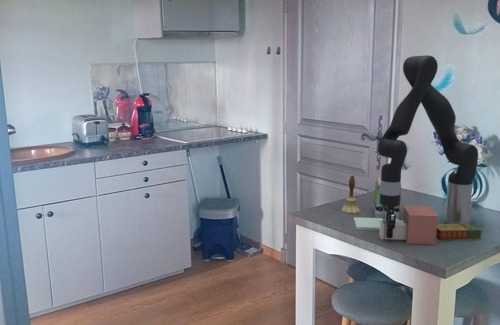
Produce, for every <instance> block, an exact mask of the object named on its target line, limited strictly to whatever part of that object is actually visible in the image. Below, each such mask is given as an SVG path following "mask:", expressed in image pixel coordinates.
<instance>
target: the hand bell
mask: <svg viewBox="0 0 500 325" xmlns="http://www.w3.org/2000/svg"><path fill="white" fill-rule="evenodd" d="M355 186H356V178H355V175H350V177H349V180H348V187H349V196H348V197H347V198H346V199H345V202H344V205H343V207H341V209H340V210H341V212H342V213H346V214H358V213H360V212H361V210H360V207H358V205H357V199H356V198H355V197H354V189H355Z"/></svg>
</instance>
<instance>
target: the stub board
mask: <svg viewBox="0 0 500 325" xmlns="http://www.w3.org/2000/svg"><path fill="white" fill-rule="evenodd" d="M380 220H383V218H375V217H353V223H354V226H355V230H356V231H372V232H373V231H378V232H379V227H380ZM396 220H399V219H396Z"/></svg>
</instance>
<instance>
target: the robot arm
mask: <svg viewBox="0 0 500 325" xmlns="http://www.w3.org/2000/svg"><path fill="white" fill-rule="evenodd" d="M438 66H439V64H438V60H437V59H436V58H435V57H434V56H432V55H428V54H427V55H413V56H409V57H407V58H406V59H404V62H403V65H402V72H403V75H404V77H405V79H406V80H407V82H408V84H409V85H410V87H411V90H410V91H409V92H408V93H407V95H406V96H405V97H404V98H403V100H401V101H400V103H399V104H398V105H397V108H396V109H395V111H394V113H393V117H392V119H391V122H390V125H389V126H388V127H387V129H386V131H385V132H384V133H383V135H382V136H381V138H380V140H379V142H378V144H377V145H378V146H377V152H378V154H379V156H381V157H383V158H388V159H391V161H390V163H385V164H382V167H381V174H380V175H381V176H380V177H381V183H380V200H379V203H380V204H381V205H383V220H385V222H386V223H387V226H386V228H387V232H386V237H387V238H392V237H393V229H395V221H396V215H395V214H396V210H394V207H395V206H399V205H400V206H401V195H402V182H401V180H402V169H403V167H404V163H405V160H406V157H407V154H408V147H407V146H408V145H407V143H405V141H403V140H399V137H401V136H406V135H408V134H409V132H410V129H411V128H412V125H413V122H414V118H415V115H416V114H417V111H418V108H419V106H420V105H421V106H422V107H423V108H424V111H425V114H426V115H427V117H428V119H429V122H430V123H431V125H432V127H433V129H434V131H435V133H436V135H437V137H438V139H439V142H440V143H441V146H442V149H443V152H444V155H445V158H446V159H447V161H448V162H449V163H451V164H452V165H456V166H458V167H457V171H456V172H451V173H450V174H448V176H447V177H448V179H447V180H448V181H447V191H446V201H445V214H444V222H445V224H461V223H470V224H472V223H471V222H472V221H471V220H472V211H473V202H472V194H473V193H472V192H473V186H474V185H473V183H474V179H475V177H476V173H477V166H478V162H479V160H478V159H479V151H478V148H477V147H476V145H474V144H469V143H465V142H462V141H460V139H459V138H458V136H457V135H456V134H457V133H456V132H455V125H456V113H455V111H454V109H453V107H452V104H451V103H450V101H449V99H448V98H447V97H446V96H445V95H443V93H442V92H440V90H438V89H436V88H435V87H434V86H433V84H432V83H433V81H434V79H435V77H436V74H437V72H438ZM390 224H392V225H390Z"/></svg>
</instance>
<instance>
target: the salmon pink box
mask: <svg viewBox="0 0 500 325" xmlns="http://www.w3.org/2000/svg"><path fill="white" fill-rule="evenodd" d="M401 213H402V214H401V215H402V216H401V220H405V221H406V222H407V231H406V240H405V242H406V244H408V245H430V246H432V245H436V243H437V242H436V241H437V238H436V231H437V224H438V221H439V220H438V218H439V216H438V214H437V213H436V212H435V211H434V209H432V207H431V206H429V205H406V204H405V205H402V212H401Z"/></svg>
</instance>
